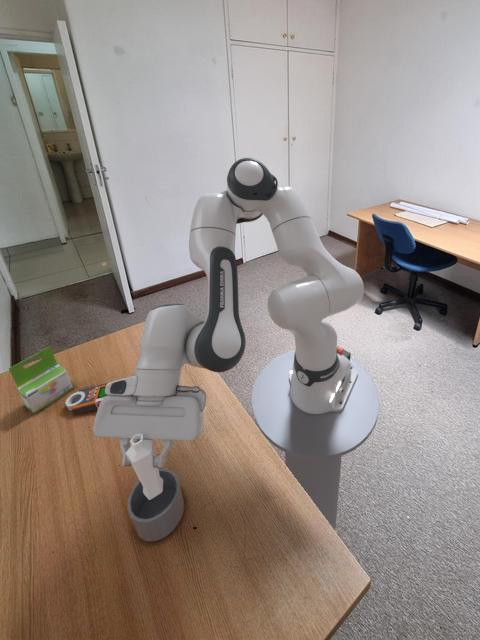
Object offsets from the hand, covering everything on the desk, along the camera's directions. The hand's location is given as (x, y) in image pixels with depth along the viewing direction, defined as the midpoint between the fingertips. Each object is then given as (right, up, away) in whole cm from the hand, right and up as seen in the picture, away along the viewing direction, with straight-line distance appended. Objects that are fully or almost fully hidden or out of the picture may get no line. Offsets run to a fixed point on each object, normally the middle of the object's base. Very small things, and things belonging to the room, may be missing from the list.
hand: (142, 466), depth 60 cm
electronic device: (-28, -4, +32) cm, 43 cm away
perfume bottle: (0, -7, +4) cm, 9 cm away
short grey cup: (0, -15, +7) cm, 16 cm away
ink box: (-42, -3, +33) cm, 54 cm away
